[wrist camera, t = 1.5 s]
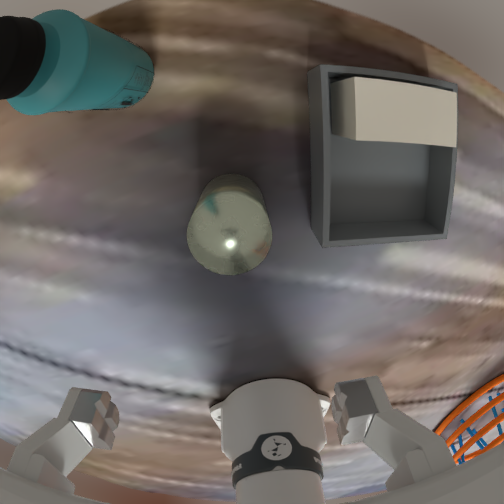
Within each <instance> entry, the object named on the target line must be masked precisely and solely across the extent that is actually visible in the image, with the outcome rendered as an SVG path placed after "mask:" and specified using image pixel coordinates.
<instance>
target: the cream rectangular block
mask: <svg viewBox="0 0 504 504" xmlns="http://www.w3.org/2000/svg"><path fill="white" fill-rule="evenodd" d="M330 87H331V110H332V134H334V135H338V136H342V137H345V138H349V139H353V140H360V141H385V142H402V143H416V144H428V145H438V146H447V147H456V143H457V93H456V92H452V91H447V90H442V89H437V88H432V87H427V86H422V85H416V84H410V83H403V82H396V81H389V80H381V79H372V78H362V77H352V78H348V79H344V80H341V81H337V82H334V83H330Z"/></svg>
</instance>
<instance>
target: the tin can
mask: <svg viewBox="0 0 504 504" xmlns="http://www.w3.org/2000/svg"><path fill="white" fill-rule="evenodd" d="M187 242H188V246H189V249H190V251H191V253H192V255H193V256H194V258H195V259H196V260H197V261H198V263H200V264H201V265H202V266H203V267H205V268H206V269H208V270H210V271H212V272H215V273H218V274H222V275H237V274H242V273H245V272H248V271H250V270H252V269H253V268H255V267H256V266H258V265H259V264H260V263H261V262H262V261H263V260H264V259H265V257H266V256H267V254H268V252H269V250H270V247H271V243H272V228H271V225H270V221H269V217H268V214H267V210H266V207H265V203H264V199H263V196H262V193H261V191H260V189H259V187H258V186H257V185H256V184H255V183H254V182H253V181H252V180H251V179H249V178H247V177H245V176H243V175H239V174H224V175H221V176H218V177H216V178H214V179H213V180H212V181H210V182H209V183H208V184H207V185H206V187H205V188H204V190H203V192H202V194H201V196H200V198H199V201H198V203H197V205H196V207H195V210H194V212H193V214H192V217H191V219H190V221H189V224H188V228H187Z"/></svg>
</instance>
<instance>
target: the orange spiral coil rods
mask: <svg viewBox="0 0 504 504" xmlns="http://www.w3.org/2000/svg"><path fill="white" fill-rule="evenodd" d="M503 381H504V374H502V375H500V376H499V377H497V378H495V379H493V380H492V381H490V382H489V383H487V384H486V385H484V386H483V387H481V388H480V389H479V390H477V391H476V392H475V393H473V394H472V395H471V396H470V397H468V398H467V399H466V400H465V401H464V402H462V403H461V404H460V405H459V406H458V407H457V408H456V409H455V410H454V411H453V412H452V413H451V414H450V415H449V416H448V417H447V418H446V419H445V420H444V421H443V422H442V423H441V424H440V426H439V427H438V428H437V429H436V431H435V432H434V433H436V434H438V435H439V436H440V434H441V433H442V432H443V430H444V429H445V428H446V427H447V426H448V425H449V424H450V422H451V421H452V420H453V419H454V418H455V417H456V416H458V415H459V414H460V413H461V412H462V411H463V410H464V409H465V408H466V407H468V406H469V405H470V404H471V403H472V402H474V401H475V400H476V399H477V398H479V397H480V396H481V395H483V394H484V393H486V392H487V391H488V390H490V389H491V388H493V387H494V386H496V385H498V384H499V383H501V382H503ZM488 398H489V401H490V402H489V403H487V404H486V405H485V406H483V407H482V408H481V409H479V410H478V411H477V412H476V413H474V414H473V415H472V416H471V417H470V418H469V419H467V420H466V421H464V420H463V419H461V420H460V422H461V423H462V425H461V426H460V427H459V428H458V429H457V430H456V431H455V432H454V433H453V434H452V435H451V436H450V437H449V438H448V439H447V440H446V444H447V446H448V448H449V446H450V445H451V444H452V443H453V442H454V441H455V440H456V438H457V437H459V445H460V449H459V450H458V451H456V449H455V447H454V445H451V448H452V450H453V452H454V455H453V456H452V457H453V459H454V461H455V464H456V463H459V465H460V464H462V463H464V462H465V461H466V460H469V459H471V458H474V457H476V456H478V455H480V454H482V453H484V452H486V451H488V450H490V449H492V448H493V447H495V446H497V445H499V444H500V443H502V442H504V433H502V429H501V425H500V422H502V421H503V420H504V408H503V409H502V410H501V411H502V412H503V413H502V414H500V415H499V416H498V415H497V412H496V409H495V406H496V405H497V404H498V403H500V402H501V401H504V392H503V393H502V394H500V393H497V397H496V398H494V399H493V400H492V397H491V396H489V397H488ZM491 408H492V411H493V414H494V417H495V419H493V420H492V421H491V422H490V423H488V424H487V425H486V426H485V427H483V428H482V429H481V430H480V431H478V432H476V430H475V429H473V430H471V429H470V428H469V426H470V425H471V424H472V423H474V422H475V421H476V420H477V419H478V418H480V417H481V416H482V415H483V414H485V413H486V412H487V411H489V410H490V409H491ZM496 425H497V427H498V431H499V435H500V436H499V437H497V438H496V439H495V440H493V441H492V442H491V443H490V444H488V445H487V443H486V442H485V441H484V440H483V439H482V438H481V437H482V436H483V435H485V434H486V433H487V432H488V431H490V430H491V429H492V428H494V427H495V426H496ZM465 430H467V431H468V432H469V434H470V435H471V436H472V437H471V438H470V439H469V440H468V441H467V442H466V443H465V444H464V445H463V443H462V436H461V433H463V432H464V431H465ZM479 440H480V441H481V442H482V444H483V445H484V446H485V447H483V445H482V444H481V443H480V441H479ZM475 442H476V443H477V445H478V446H479V447H480V449H479V450H478V451H475V452H473V453H471V454H469V455H466V456H464V453H465V452H466V451H467V450H468V449H469V448H470V447H471V446H472V445H473V444H474V443H475Z"/></svg>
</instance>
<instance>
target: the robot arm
mask: <svg viewBox="0 0 504 504" xmlns="http://www.w3.org/2000/svg"><path fill="white" fill-rule="evenodd" d="M334 391H335V394H336V395H334V396H333V398H332V414H333V418H334V421H335V422H336V423H338V428H337V433H338V437H339V441H340V444H341V445H345V444H351V443H356V442H361V441H363V442H364V443H365V444H366V445H367V446H368V447H369V448H370V449H371V450H372V451H374V452H375V453H376V454H377V455H378V456H379V457H380V458H381V459H383V460H384V461H385V462H386V463H387V464H388V465H389V466H391V467H392V468H393V469H394V472H393V473H392V474H391V476H390V477H389V478H388V480H387V481H386V483H385V485H386V488H387V491H388V492H385V493H382V494H378V495H375V496H371V497H367V498H363V499H360V500H355V501H351V502H346V503H341V504H504V442H502V443H501V444H499V445H497V446H495V447H493V448H492V449H490V450H488V451H486V452H484V453H482V454H480V455H478V456H476V457H474V458H472V459H470V460H468V461H466V462H464V463H462V464H460V465H458V466H456V464H455V461H454V459H453V457H452V455H451V453H450V450H449V448H448V446H447V444H446V442H445V440H444V438H442V437H441V436H439V435H438V434H436V433H434V432H433V431H431V430H429V429H428V428H426V427H425V426H423V425H422V424H420V423H418V422H417V421H415V420H414V419H412V418H411V417H409V416H408V415H406V414H404V413H403V412H401V411H400V410H398V409H393V408H392V406H391V403H390V401H389V399H388V397H387V394H386V392H385V390H384V388H383V386H382V383H381V381H380V379H379V377H378V376H372V377H367V378H360V379H355V380H350V381H344V382H338V383H336V384H335V388H334ZM110 400H111V396H110V394H109V393H108V392H106V391H98V390H90V389H83V388H75V387H72V388H71V389H70V390H69V392H68V395H67V397H66V399H65V401H64V404H63V406H62V408H61V410H60V413H59V415H58V417H57V418H53V419H52V420H51V421H49V422H48V423H47V424H45V425H44V426H43V427H41V428H40V429H39V430H37V431H36V432H35V433H33V434H32V435H31V436H29V437H28V438H27V439H25V440H24V441H23V442H21V443H20V444H19V445H17V446H16V449H15V451H14V453H13V456H12V458H11V461H10V463H9V466H8V468H7V470H5V469H3V468H0V504H109V503H105V502H100V501H96V500H92V499H88V498H83V497H80V496H77V495H73V494H74V490H75V485H74V484H73V483H72V482H71V481H70V480H69V479H67V478H66V476H67V475H68V474H69V473H70V472H71V471H72V470H73V469H74V468H75V467H76V466H77V465H78V464H79V462H80V461H81V460H82V459H83V458H84V457H85V456H86V455H87V454H88V453H89V452H90V451H91V450H92V449H93V448H100V449H107V450H111V449H112V446H113V442H114V438H115V435H114V433H113V431H114V430H115V429H116V428H117V427H118V423H119V412H118V408H117V407H116V405H115V404H114V403H112V402H111V401H110ZM329 406H330V399H329V397H327V396H324V395H320V394H317V393H315V392H314V391H313V390H312V389H310V388H309V387H308V386H306V385H305V384H303V383H300V382H297V381H294V380H288V379H265V380H259V381H255V382H251V383H248V384H245V385H243V386H241V387H239V388H237V389H236V390H234V391H233V392H232V393H231V394H230V395H229V396H228V397H227V398H226V399H225V400H224V401H223V402H220V403H218V404H216V405H214V406H212V407H211V408H210V415H211V416H212V418H213V419H214V421H215V422H216V424H217V426H218V427H219V428H220V430H221V449H222V452H223V453H225V455H226V456H227V457H228V458H229V459H230V460H231V461H232V462H233V463H232V472H231V479H232V483H233V487H234V489H236V504H326V501H325V497H324V492H323V488H322V483H321V480H322V479H323V465H322V463H321V459H320V455H319V452H320V451H321V450H322V449H323V447H324V445H325V444H326V443H327V436H326V430H325V424H324V416H325V414H326V412H327V410H328V408H329ZM92 447H93V448H92Z"/></svg>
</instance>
